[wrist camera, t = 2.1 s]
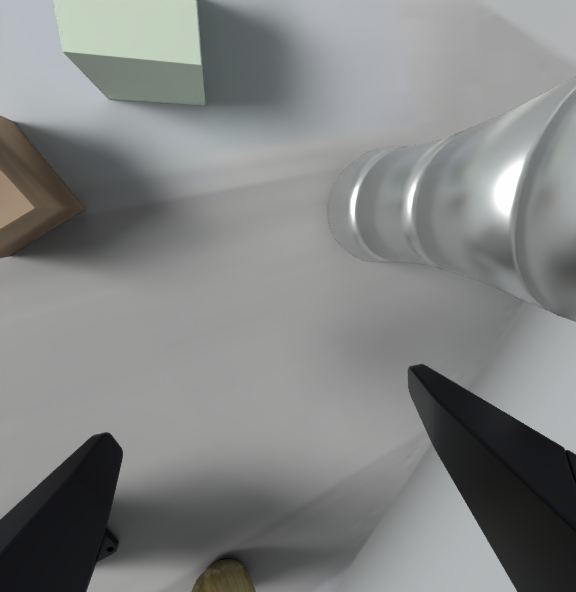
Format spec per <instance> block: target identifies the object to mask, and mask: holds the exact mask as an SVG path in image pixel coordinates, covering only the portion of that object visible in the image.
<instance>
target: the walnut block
mask: <svg viewBox="0 0 576 592" xmlns="http://www.w3.org/2000/svg"><path fill="white" fill-rule="evenodd" d="M83 210H85V208H84V206H83V205H82V204H81V203H80V201H79V200H78V199H77V198H76V197H75V195H74V194H73V193H72V192H71V191H70V189H69V188H68V187H67V186H66V185H65V183H64V182H63V181H62V180H61V179H60V177H59V176H58V175H57V174H56V172H55V171H54V170H53V169H52V168H51V166H50V165H49V164H48V163H47V162H46V160H45V159H44V158H43V157H42V156H41V154H40V153H39V152H38V151H37V149H36V148H35V147H34V146H33V145H32V143H31V142H30V141H29V140H28V139H27V137H26V136H25V135H24V134H23V133H22V131H21V130H20V129H19V128H18V126H17V125H16V124H15V123H14V122H13V121H11V120H9V119H7V118H5V117H2V116H0V258H3V257H8V256H10V255H12V254H13V253H15V252H17V251H18V250H20V249H22V248H23V247H25V246H26V245H28V244H30V243H31V242H33V241H35V240H36V239H38V238H39V237H41V236H43V235H44V234H46V233H48V232H49V231H51V230H53V229H54V228H56V227H57V226H59V225H61V224H62V223H64V222H66V221H67V220H69V219H70V218H72V217H74V216H75V215H77V214H79V213H80V212H82V211H83Z"/></svg>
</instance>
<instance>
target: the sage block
mask: <svg viewBox="0 0 576 592" xmlns="http://www.w3.org/2000/svg"><path fill="white" fill-rule="evenodd" d="M53 4H54V9H55V14H56V20H57V25H58V30H59V36H60V41H61V46H62V51H63V53H64V54H65V55H66V56H67V57H68V58H69V59H70V60H71V61H72V62H73V63H74V64H75V65H76V66H77V67H78V68H79V69H80V70H81V71H82V72H83V73H84V74H85V75H86V76H87V77H88V78H89V80H90V81H91V82H92V83H93V84H94V85H95V86H96V87H97V88H98V89H99V90H100V91H101V92H102V93H103V94H104V95H105V96H106V97H107V98H108V99H114V100H128V101H143V102H158V103H173V104H188V105H203V106H205V93H204V80H203V67H202V54H201V41H200V28H199V15H198V2H197V0H53Z"/></svg>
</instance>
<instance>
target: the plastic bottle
mask: <svg viewBox="0 0 576 592" xmlns="http://www.w3.org/2000/svg"><path fill="white" fill-rule="evenodd" d="M328 222H329V226H330V229H331V232H332V234H333V236H334V238H335V240H336V241H337V242H338V243H339V244H340V246H341V247H343V248H344V249H345V250H346V251H348V252H349V253H350V254H352V255H353V256H354V257H356V258H359V259H361V260H363V261H369V262H380V263H386V262H408V263H417V264H426V265H431V266H434V267H437V268H441V269H445V270H447V271H450V272H453V273H456V274H460V275H463V276H466V277H469V278H473V279H476V280H479V281H481V282H483V283H486V284H488V285H490V286H493V287H495V288H497V289H499V290H502V291H504V292H506V293H509V294H511V295H513V296H515V297H518V298H520V299H522V300H525V301H527V302H529V303H532V304H534V305H536V306H538V307H541V308H543V309H545V310H548V311H551V312H552V313H554V314H556V315H558V316H561V317H564V318H567V319H570V320H573V321H576V77H574V78H572V79H570V80H568V81H566V82H564V83H562V84H560V85H558V86H557V87H555V88H553V89H551V90H549V91H547V92H545V93H543V94H541V95H539V96H537V97H536V98H534V99H532V100H530V101H528V102H526V103H524V104H522V105H520V106H518V107H516V108H515V109H513V110H511V111H509V112H507V113H505V114H503V115H501V116H498V117H496V118H493V119H491V120H488V121H486V122H483V123H481V124H479V125H476V126H474V127H472V128H469V129H467V130H465V131H462V132H459V133H457V134H454V135H452V136H450V137H447V138H445V139H441V140H437V141H432V142H428V143H423V144H418V145H414V146H393V147H386V148H380V149H375V150H372V151H370V152H367V153H365V154H363V155H362V156H360V157H359V158H358V159H356V160H355V161H354V162H352V163H351V164H350V165H349V166H348V167H347V168H346V169H345V170H344V171H343V172H342V173H341V174H340V176H339V177H338V179H337V180H336V182H335V183H334V186H333V188H332V190H331V193H330V197H329V201H328Z"/></svg>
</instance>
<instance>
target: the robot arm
mask: <svg viewBox="0 0 576 592" xmlns="http://www.w3.org/2000/svg"><path fill="white" fill-rule="evenodd" d="M408 388H409V392H410V395H411V398H412V400H413V402H414V404H415V406H416V409H417V411H418V413H419V415H420V418H421V420H422V422H423V424H424V427H425V429H426V431H427V433H428V436H429V438H430V440H431V442H432V444H433V446H434V448H435V450H436V452H437V454H438V455H439V457H440V459H441V461H442V462H443V464H444V466H445V468H446V469H447V471H448V473H449V474H450V476H451V478H452V480H453V481H454V483H455V485H456V486H457V488H458V490H459V492H460V493H461V495H462V497H463V499H464V500H465V502H466V504H467V506H468V507H469V509H470V510H471V512H472V514H473V516H474V518H475V519H476V521H477V523H478V525H479V526H480V528H481V530H482V531H483V533H484V535H485V536H486V538H487V540H488V542H489V544H490V545H491V547H492V549H493V550H494V552H495V554H496V556H497V557H498V559H499V561H500V562H501V564H502V566H503V567H504V569H505V571H506V573H507V575H508V576H509V578H510V580H511V582H512V583H513V585H514V587H515V588H516V590H517V592H576V454H574V453H573V452H571V451H569V450H566V451H565V449H564V447H562V446H561V445H559V444H557V443H556V442H554V441H552V440H550V439H549V438H547V437H545V436H544V435H542V434H540V433H539V432H537V431H535V430H533V429H532V428H530V427H528V426H527V425H525V424H524V423H522V422H520V421H518V420H517V419H515V418H513V417H512V416H510V415H508V414H507V413H505V412H503V411H501V410H500V409H498V408H497V407H495V406H493V405H492V404H490V403H488V402H486V401H485V400H483V399H481V398H480V397H478V396H476V395H475V394H473V393H471V392H469V391H468V390H466V389H465V388H463V387H461V386H460V385H458V384H456V383H454V382H453V381H451V380H449V379H448V378H446V377H444V376H443V375H441V374H439V373H438V372H436V371H434V370H433V369H431V368H429V367H428V366H426V365H424V364H419V365H414V366H410V367H409V368H408ZM122 458H123V450H122V448H121V447H120V445H119V444H118V443H117V441H116V440H115V439H114V437H113V436H112V435H111V434H110V433H108V432H105V433H100V434H96V435H93V436H92V437H90V438H89V439H88V440H87V441H86V442H85V443H84V444H83V445H82V446H81V447H80V448H78V449H77V450H76V451H75V452H74V453H73V454H72V455H71V456H70V457H69V458H67V459H66V460H65V461H64V462H63V463H62V464H61V465H60V466H59V467H58V468H56V469H55V470H54V471H53V472H52V473H51V474H50V475H49V476H48V477H47V478H46V479H44V480H43V481H42V482H41V483H40V484H39V485H38V486H37V487H36V488H35V489H33V490H32V491H31V492H30V493H29V494H28V495H27V496H26V497H25V498H24V499H22V500H21V501H20V502H19V503H18V504H17V505H16V506H15V507H14V508H13V509H12V510H10V511H9V512H8V513H7V514H6V515H5V516H4V517H3V518H2V519H1V520H0V592H86V591H87V588H88V585H89V582H90V580H91V577H92V574H93V571H94V568H95V565H96V562H97V561H99V560H101V559H103V558H105V557H107V556H109V555H111V554H113V553H115V552H116V551H117V549H118V545H119V541H118V540H117V539H116V538H115V537H114V536H113V535H112V533H111V532H110V531H109V530H108V529H107V528H106V525H107V522H108V518H109V515H110V511H111V507H112V503H113V499H114V494H115V490H116V485H117V481H118V476H119V472H120V467H121V463H122Z"/></svg>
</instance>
